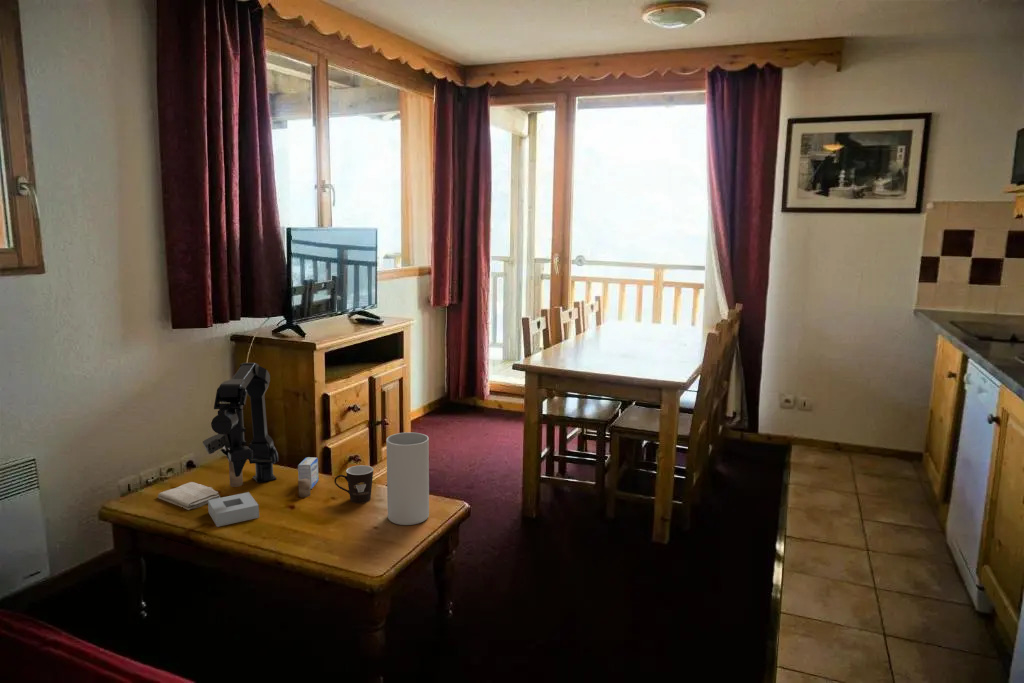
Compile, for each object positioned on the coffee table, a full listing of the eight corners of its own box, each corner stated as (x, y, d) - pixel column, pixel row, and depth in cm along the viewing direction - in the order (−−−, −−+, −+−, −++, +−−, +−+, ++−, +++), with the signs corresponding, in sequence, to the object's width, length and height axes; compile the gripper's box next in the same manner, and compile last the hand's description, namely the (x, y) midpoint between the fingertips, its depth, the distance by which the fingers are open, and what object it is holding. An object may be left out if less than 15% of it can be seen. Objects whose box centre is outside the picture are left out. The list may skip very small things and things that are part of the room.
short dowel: (297, 494, 224) (296, 480, 223) (308, 492, 226) (307, 478, 225) (300, 498, 221) (300, 483, 220) (311, 495, 223) (311, 481, 222)
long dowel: (228, 484, 206) (227, 455, 205) (241, 481, 208) (239, 453, 207) (231, 487, 203) (230, 458, 202) (244, 485, 205) (242, 456, 204)
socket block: (208, 512, 208) (207, 500, 208) (249, 504, 215) (248, 492, 215) (216, 526, 199) (216, 513, 198) (259, 517, 205) (258, 505, 205)
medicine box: (311, 489, 228) (310, 465, 227) (298, 489, 228) (297, 464, 227) (318, 481, 236) (318, 457, 234) (306, 480, 236) (305, 456, 234)
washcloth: (190, 512, 210) (189, 503, 209) (156, 499, 219) (155, 490, 218) (223, 499, 220) (223, 490, 219) (190, 488, 229) (189, 479, 228)
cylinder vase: (435, 511, 212) (434, 434, 208) (419, 528, 200) (418, 447, 196) (398, 507, 215) (397, 430, 211) (380, 523, 203) (379, 442, 199)
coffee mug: (378, 495, 224) (377, 466, 222) (368, 505, 216) (367, 475, 214) (344, 492, 226) (344, 463, 224) (333, 502, 217) (332, 472, 216)
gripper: (197, 421, 206) (200, 470, 208) (211, 436, 191) (214, 489, 193) (236, 416, 212) (238, 464, 215) (252, 430, 197) (254, 481, 200)
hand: (235, 474), depth 205 cm, fingers closed on long dowel, 4 cm apart
